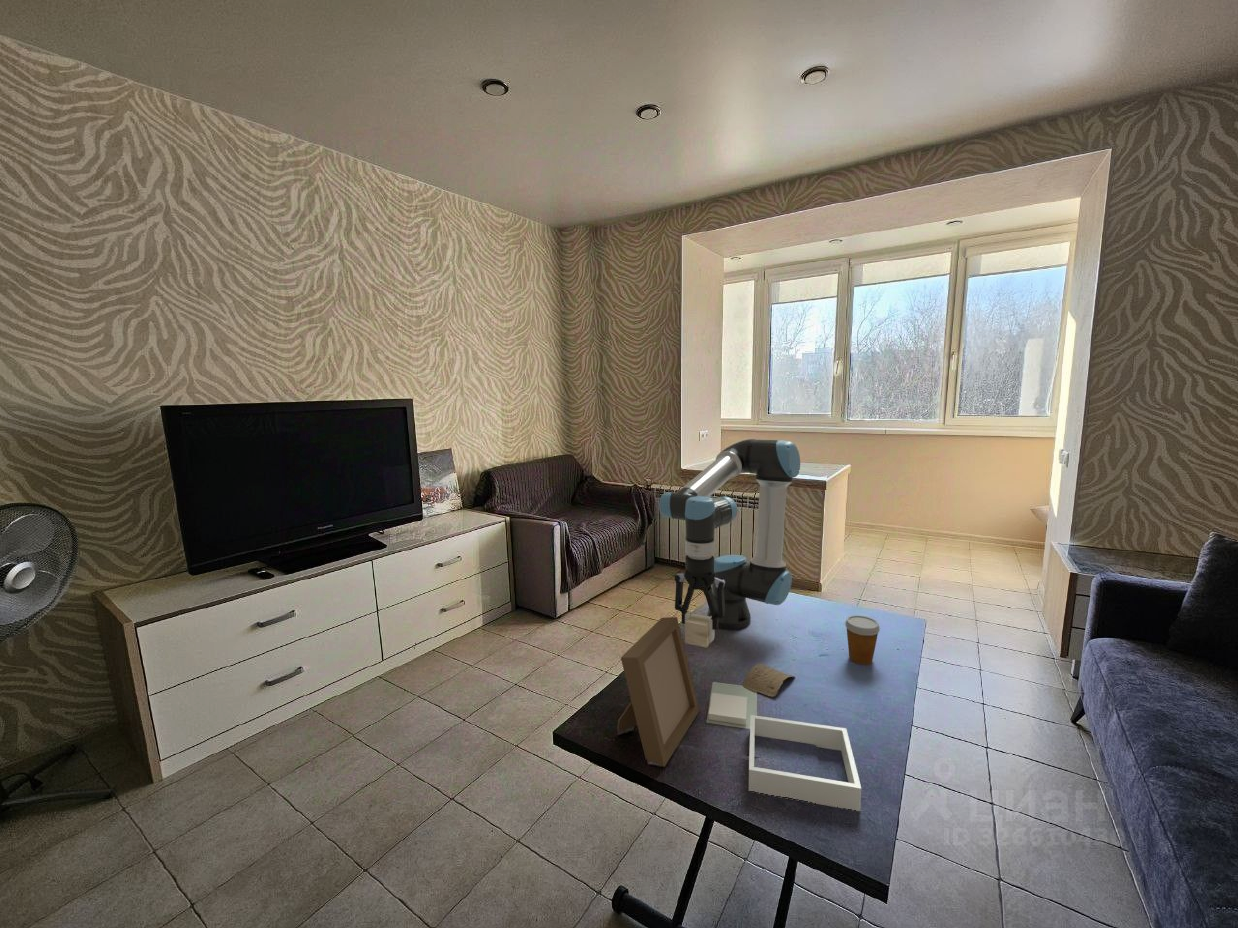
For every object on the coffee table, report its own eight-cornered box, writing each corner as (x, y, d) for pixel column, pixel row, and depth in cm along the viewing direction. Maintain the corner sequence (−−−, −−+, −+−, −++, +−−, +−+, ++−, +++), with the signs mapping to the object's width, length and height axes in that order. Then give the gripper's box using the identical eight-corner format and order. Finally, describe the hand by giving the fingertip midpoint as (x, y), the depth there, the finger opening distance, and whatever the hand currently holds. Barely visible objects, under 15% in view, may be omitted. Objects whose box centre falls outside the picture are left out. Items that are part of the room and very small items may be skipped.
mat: (712, 683, 142) (712, 681, 142) (757, 689, 139) (757, 687, 139) (706, 724, 125) (706, 722, 125) (756, 732, 122) (756, 729, 122)
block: (692, 633, 142) (692, 613, 141) (713, 638, 139) (713, 617, 138) (685, 642, 136) (685, 621, 136) (706, 647, 134) (707, 625, 133)
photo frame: (699, 714, 129) (698, 621, 125) (664, 770, 110) (661, 663, 107) (647, 698, 136) (644, 610, 133) (605, 749, 117) (601, 648, 114)
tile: (712, 692, 134) (708, 713, 125) (747, 697, 132) (746, 718, 123) (712, 698, 134) (708, 719, 126) (747, 703, 132) (746, 725, 123)
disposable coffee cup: (870, 671, 146) (872, 632, 144) (837, 658, 153) (839, 621, 152) (883, 659, 152) (885, 621, 151) (852, 647, 159) (853, 611, 158)
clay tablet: (775, 699, 133) (775, 689, 133) (740, 685, 140) (740, 675, 139) (797, 678, 144) (797, 669, 144) (763, 666, 150) (764, 657, 150)
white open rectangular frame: (750, 733, 121) (750, 714, 120) (845, 748, 116) (846, 728, 115) (748, 791, 104) (748, 769, 103) (860, 811, 98) (861, 788, 98)
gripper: (661, 555, 135) (661, 636, 139) (731, 564, 127) (730, 651, 130) (671, 547, 142) (671, 625, 145) (738, 555, 133) (737, 638, 137)
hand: (699, 637), depth 138 cm, fingers closed on block, 6 cm apart
